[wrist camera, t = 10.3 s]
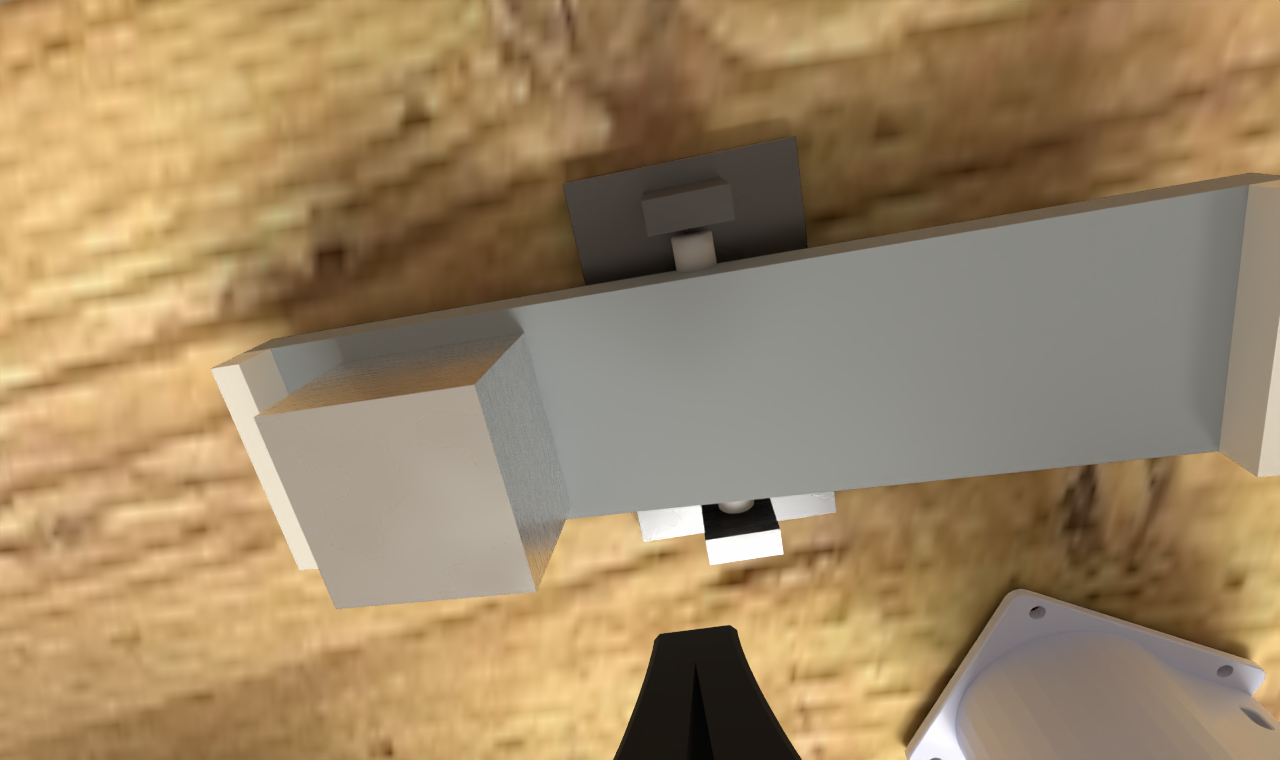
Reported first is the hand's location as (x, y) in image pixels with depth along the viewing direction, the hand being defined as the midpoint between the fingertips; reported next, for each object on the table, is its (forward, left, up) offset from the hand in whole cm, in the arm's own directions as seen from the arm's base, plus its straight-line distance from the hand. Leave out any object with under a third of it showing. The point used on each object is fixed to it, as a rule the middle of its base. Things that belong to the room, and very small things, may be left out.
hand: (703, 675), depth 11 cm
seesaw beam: (0, -3, -7) cm, 8 cm away
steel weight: (+6, +1, -7) cm, 9 cm away
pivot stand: (0, -3, -9) cm, 10 cm away
